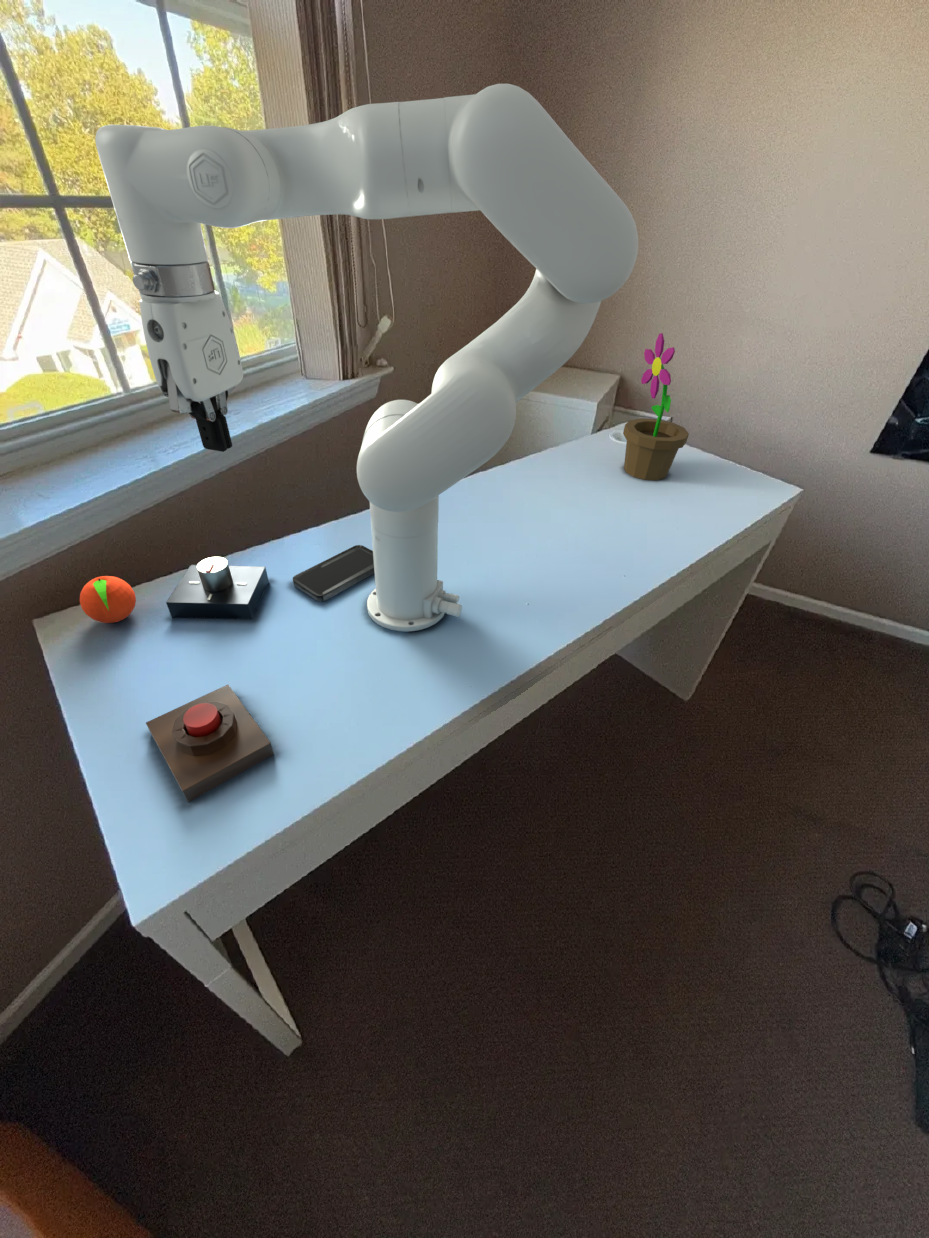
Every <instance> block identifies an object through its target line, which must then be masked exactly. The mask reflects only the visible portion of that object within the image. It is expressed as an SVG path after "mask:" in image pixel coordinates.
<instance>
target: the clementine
mask: <svg viewBox="0 0 929 1238" xmlns="http://www.w3.org/2000/svg"><path fill="white" fill-rule="evenodd" d="M136 602H137V598H136V592H135V591H134V589H133V588H132V586H131V585H130V584H129V583H128V582H127V581H125V580H123V578H120V577H118V576H112V575H111V576H110V575H101V576H97V577H95V578H92V579H91V580H89V581H88V582H87V583H86V584H85V585H83V587H82V589H81V591H80V593H79V604H80V607H81V609H82V611H83V613H85V615H86V616H87V617H89V618H90V619H91V620H93V621H96V622H99V623H102V624H113V623H118V622H121V621H123V620H125V619H126V618H128V617H129V616H130V615H131V614H132V613H133V611H134V609H135V607H136Z"/></svg>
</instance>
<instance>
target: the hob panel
mask: <svg viewBox="0 0 929 1238" xmlns="http://www.w3.org/2000/svg"><path fill="white" fill-rule="evenodd" d="M197 565H198V564H191V565H189V567H188V568H187V569H186V571H185V573H184V574H183V576H182V577H181V579H180V580H179V582H178V583H177V585H176V587H175V588H174V590H173V591H172V593H171V594H170V595H169V597H168V599H167V600H166V601H165V604H166V607H167V609H168V612H169V614H170V617H171V618H172V619H202V620H203V619H206V620H207V619H211V620H253V619H254V618H253V617H255V613H256V611H257V609H258V607H259V604H260V603H261V600H262V598H263V596H264V594H265V591H266V589H267V586H268V584H269V582H270V581H269V576H268V572H267V567H266V566H255V565H254V566H251V565H247V566H246V565H229V568H230V572H231V576H232V579H233V583H232V585H231V586H230V587H228V588H227V589H225V590H222V591H217V592H211V591H207V590H205V589H204V588H203V586H202V583H201V579H200V576H199V573H198V570H197Z"/></svg>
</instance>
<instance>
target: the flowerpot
mask: <svg viewBox="0 0 929 1238" xmlns="http://www.w3.org/2000/svg"><path fill="white" fill-rule="evenodd" d="M654 345H655V346H654V351H653V350H652V349H651V348H650V349H649V348H645V349H644V352H643V356H644V357H643V358H644V361H645V362H646V363H647V364H648V365H651V368H647V369H646V370H645V372H643V373H642V377H641V380H640V382H641V385H645V384H649V383H650V388H649V389H650V390H649V392H650V397H651V399H656V397H657V395H658V393H659V389H660V382H661V383H662V393H661V403H660V405H659V404H655V405H652V406H651V408H650V409H651V410H652V411H653V412H654V414H655V415H656V416H657V418H645V417H640V418H636V419H630V420H628V421H627V422H626V423H625V424H624V428H623V431H622V435H623V437H624V439H625V440H626V443H625V454H624V462H623V469H624V472H625V473H626V474H627V475H629V476H630V477H633V478H636V479H639V480H643V481H660V480H663V479H665V478H666V477H667V476H668V474H669V472H670V469H671V467H672V465H673V462H674V460H675V458H676V456H677V454H678V452H679V449H682V448H683V447H684V446H685V445H686V444H687V441H688V438H689V435H690V432H688V431H687V429H686V428H685V427H684V426H682V425H680V424H677V423H675V422H672V421H668V420H664V419H663V415H664V411H665V412H666V413H669V412H670V408H671V403H672V399H671V396H670V394H668V387H669V386H670V385H671V382H672V379H671V378H672V377H671V373H670V372H669V371H668V369H667V368H665V367H664V365H667V364H669V363H670V362H671V361H672V360H673V357H674V355H675V352H676V350H675V347H674V346H673V347H667V348H666V349H665V351H664V347H665V337H664V333H663V332H661V333H659V334H658V336H657V338H656V340H655V344H654Z"/></svg>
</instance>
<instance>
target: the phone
mask: <svg viewBox="0 0 929 1238" xmlns="http://www.w3.org/2000/svg"><path fill="white" fill-rule="evenodd" d="M373 575H375V572H374V559H373V549H370V548H368V547H366V546H364V545H362V544H356V545H353V546H352V547H349V548H347V549H346V550H344V551H341V552H339V553H337V554H335V555H333V556H331V557H329V558H327V559H324V560H323V561H321V562H319V563H317V564H315V565H313V566H311V567H309V568H307V569H305V570H303V571H301V572H299V573H297V574H295V575H294V576H293V577H292V583H293V586H294V587H295V588H296V589H298V590H300V591H301V592H303V593H304V594H305V595H307V596H308V597H311V598H312V599H313V600H315V601H317V602H325V601H327V600H329V599H331V598H333V597H335V596H336V595H338V594H340V593H342V592H344V591H345V590H347V589H349V588H351V587H353V586H355V585H356V584H358V583H361V582H362V581H364V580H365V579H367V578H369V577H370V576H373Z"/></svg>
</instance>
